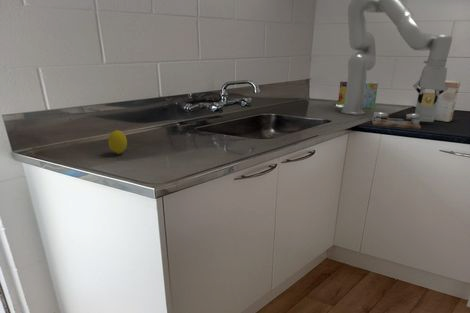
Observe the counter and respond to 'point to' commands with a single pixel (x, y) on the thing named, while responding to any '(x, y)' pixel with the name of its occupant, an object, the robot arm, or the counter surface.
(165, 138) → the counter surface
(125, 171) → the counter surface
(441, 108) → the coffeecake box
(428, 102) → the coupler
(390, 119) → the shaft stubs
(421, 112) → the supplement box
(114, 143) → the lemon
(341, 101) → the snack box
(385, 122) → the bench board
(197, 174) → the counter surface
